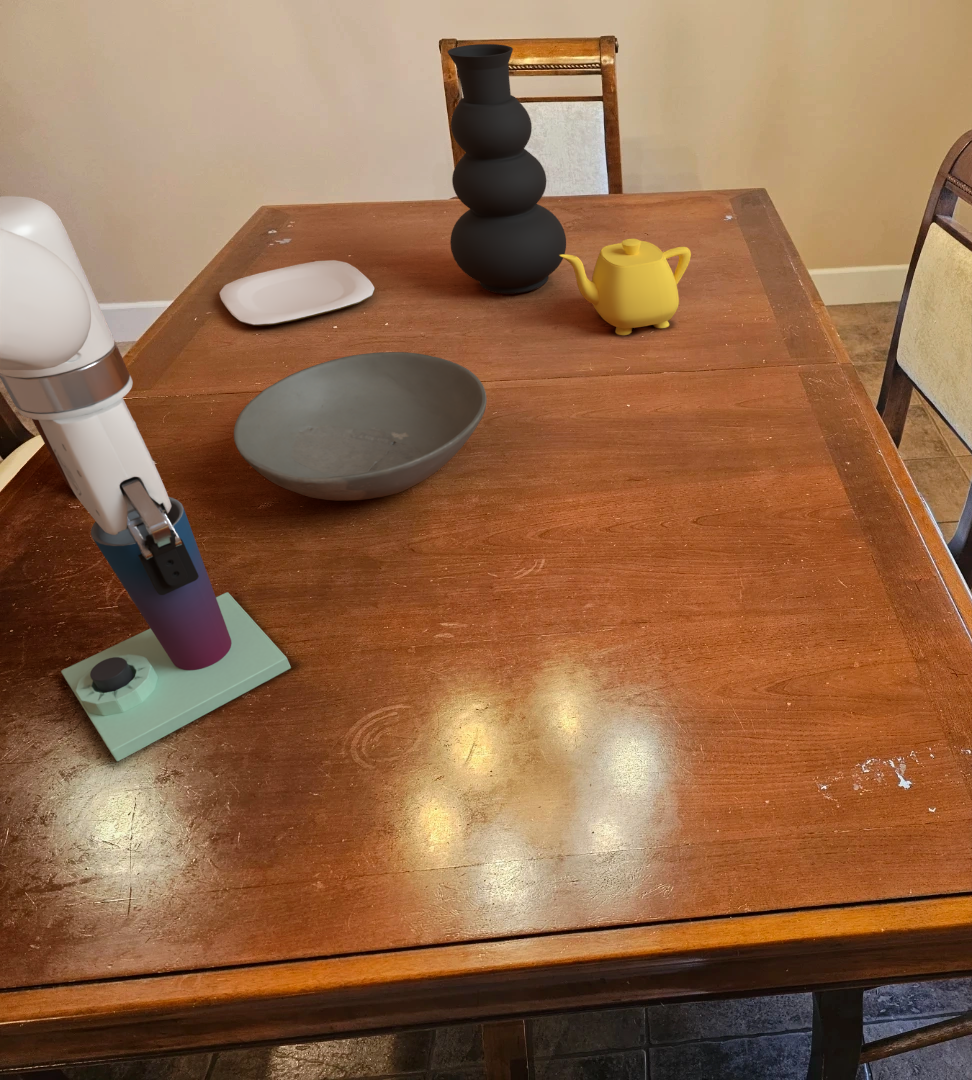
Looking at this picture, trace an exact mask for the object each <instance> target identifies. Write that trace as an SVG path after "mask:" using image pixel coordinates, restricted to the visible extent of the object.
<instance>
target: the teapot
mask: <svg viewBox="0 0 972 1080" xmlns="http://www.w3.org/2000/svg"><path fill="white" fill-rule="evenodd" d="M691 255H692V252H691V250H690V248H689V247H687V246H678V247H673V248H670V249H667V250H665V251H662V250H661V249H660V247H658V246H657V245H655V244H654V243H652V242H649V241H645V240H640V239H637V238H627V239H623V240H622V241H621V242H619V243H613V244H608V245H605V246H603V247H602V248H601V249H600V251H599V254H598V256H597V259H596V261H595V265H594V269H593V271H592V277H591V280H590V279H589V278H588V276H587V274H586V270H585V266H584V264H583V262H582V260H581V259H580V258H579V257H578V256H576V255H574V254H573V255H572V254H567V253H565V254H561V255H559V256H560V257H562V258H563V260H565V261H567V262H568V263H569V264H570V265H571V267H572V269H573V272H574V275H575V280H576V285H577V288H578V291H579V293H580V294H581V296H582V298H584V299H585V300H586V301H587V302H588V303H590V304H592V306H593V308H594V309H595V311H596V312H597V313H598V315H599V316H600V318H601V319H603V320H604V321H605V322H606V323H608V324H609V325H611V326H613V327H616V328H615V331H614V332H615V334H616V335H619V336H627V335H630V334H631V333H632V332H633V331H632V330H633V328H634V329H635V328H641V327H648V326H653V327H654V328H656V329H666V328H668V327H669V326H670V322H669V321H670V320H671V319H672V318H673V317H674V316H675V314H676V312H677V310H678V308H679V304H680V298H679V297H680V296H679V289H678V284H679V283H680V281H681V279H682V277H683V276H684V275H685V272H686V270H687V268H688V266H689V265H690V261H691ZM674 257H678V262H677V265H676V268H675V271H674V272H673V270H672V268H671V266H670V264H669V262H668V260H667V259H670V258H674Z"/></svg>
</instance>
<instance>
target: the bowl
mask: <svg viewBox="0 0 972 1080" xmlns="http://www.w3.org/2000/svg"><path fill="white" fill-rule="evenodd" d="M487 401H488V400H487V392H486V389H485V386H484V384H483V382H482V381H481V380H480V378H479V377H478V376H477V375H476V374H475V373H474V372H472V371H471V370H469V369H468V368H467V367H465V366H464V365H463V366H462V365H461V364H458V363H457V362H453V361H451V360H448V359H445V358H441V357H437V356H432V355H428V354H423V353H416V352H407V351H382V352H381V351H380V352H379V351H378V352H369V353H360V354H359V353H358V354H352V355H348V356H343V357H338V358H335V359H331V360H327V361H324V362H320V363H318V364H314V365H312V366H309V367H306V368H303V369H301V370H298V371H296V372H294V373H292V374H289V375H287V376H286V377H284V378H282V379H280V380H278V381H276V382H274V383H273V384H271V385H270V386H268V387H266V388H265V389H263V390H262V391H261V392H259V393H258V394H257V395H256V396H254V397H253V398H252V399H251V400H250V401H249V402H248V403H247V404H246V405H245V406H244V408H243V409H242V410H240V413H239V414H238V416H237V419H236V420H235V424H234V427H233V440H234V441H233V442H234V444H235V447H236V449H237V451H238V452H239V454H240V456H241V457H242V458H243V459H244V460H245V462H246V463H247V464H248V465H249V466H251V467H252V468H253V469H254V470H255V471H256V473H258V474H260V475H261V476H263V477H264V478H265V479H267V480H268V481H270V482H271V483H273V484H274V485H277V486H279V487H281V488H283V489H285V490H288V491H290V492H293V493H296V494H298V495H303V496H306V497H308V498H312V499H318V500H319V499H320V500H326V501H335V502H338V501H341V502H342V501H343V502H344V501H363V500H370V499H379V498H384V497H388V496H391V495H392V496H393V495H396V494H399V493H401V492H404V491H407V490H409V489H410V488H412V487H414V486H416V485H418V484H420V483H422V482H424V481H425V480H427V479H428V478H430V477H431V476H433V475H434V474H436V473H437V472H438V471H439V470H441V469H442V468H443V467H445V465H446V464H448V463H449V461H450V460H451V459H452V458H454V457H455V456H456V454H458V453H459V452H460V450H461V449H462V448H463V447H464V445H465V444H466V443H467V442H468V440H469V439H470V437H471V436H472V435H473V433H474V432H475V430H476V428H477V427H478V426H479V424H480V422H482V421H481V420H482V419H483V416H484V414H485V412H486V408H487Z"/></svg>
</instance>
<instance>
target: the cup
mask: <svg viewBox="0 0 972 1080" xmlns="http://www.w3.org/2000/svg"><path fill="white" fill-rule="evenodd" d="M168 497H169V500H170V503H171V509H170V511H169V512H168V514H166V513H165V514H166V515H167V517H168V519H169V520H170V522H171V524H172V526H173V527H174V529H175V531H176V532H177V534H178V536H179V538H181V539H182V540H183V543H184V545H185V547H186V549H187V551H188V553H189V556H190V558H191V560H192V562H193V564H194V566H195V569H196V571H197V573H198V576H199V577H198V579H197V580H195V581H193V582H191V583H189V584H187V585H185V586H182V587H180V588H178V589H176V590H174V591H171V592H169V593H167V594H165V595H159V594H158V593H157V591H156V590H155V588H154V586H153V584H152V582H151V580H150V578H149V576H148V574H147V572H146V570H145V568H144V566H143V564H142V562H141V560H140V558H139V556H138V555H140V554H142V553H141V551H140V550H139V548H138V546H137V545H136V543H135V541H134V540H133V538H132V536H131V535H130V533H129V531H128V530H127V529H126V530H123V531H120V532H118V534H117V535H112V534H109V533H106V532H105V531H104V530H103V529H102V528H101V527H100V526H99V525H98V523H97V522H96V521H95V522H94V523H93V524H92V527H91V528H90V536H91V538H92V540H93V541H94V543H95V544H96V546H97V548H98V549H99V551H100V552H101V553H102V555H103V557H104V558H105V560H106V562H107V563H108V564H109V566H110V568H111V569H112V571H113V572H114V574H115V575H116V578H118V580H119V582H120V584H121V585H122V587H123V588H124V589H125V592H127V594H128V596H129V597H130V599H131V601H132V602H133V604H134V605H135V606H136V608H137V610H138V611H139V613H140V614H141V616H142V618H143V619H144V621H145V623H147V625H148V627H149V629H150V628H151V630H152V631H153V633H154V634H155V636H156V638H157V639H158V641H159V642H160V644H161V645H162V647H163V648H164V650H165V652H166V653H167V655H168V656H169V658H170V659H171V661H172V662H173V664H174V665H175V666H176V667H178V668H180V669H183V670H197V669H202V668H205V667H208V666H210V665H213V664H214V663H216V662H218V661H219V660H221V659H222V658H223V657H224V656H225V655H226V654H227V653H228V652H229V650H230V648H231V644H232V643H231V638H230V635H229V632H228V630H227V627H226V624H225V621H224V619H223V616H222V613H221V610H220V607H219V605H218V602H217V599H216V597H217V596H216V594H215V590H214V588H213V585H212V582H211V580H210V577H209V574H208V571H207V569H206V567H205V563H204V560H203V558H202V555H201V552H200V550H199V546H198V544H197V540H196V538H195V535H194V533H193V529H192V527H191V525H190V522H189V519H188V516H187V513H186V510H185V507H184V505H183V503H182V502H180V500H178V499H176V498H174V497H171V496H168ZM137 517H139V516H138V514H137V513H136V511H133V512H130V513H128V518H129V519H130V520H132V519H135V518H137ZM137 529H138V530H139V532H140V534H141V535H142V537H143V539H144V540H145V541H146V537H145V536H147V535H149V533H148V532H147V529H146V527H145V525H142V526H139V527H137Z"/></svg>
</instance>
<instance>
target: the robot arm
mask: <svg viewBox="0 0 972 1080" xmlns="http://www.w3.org/2000/svg"><path fill="white" fill-rule="evenodd" d="M0 380H1V382H2V384H3V386H4V388H5V390H6V392H7V393H8V396H9V397H10V399H11V401H12V403H13V405H14V406H15V408H16V411H17V412H18V413H19V415H21V416H23V417H24V418H27V419H31V420H32V419H35V420H39V422H40V424H41V427H42V429H43V431H44V433H45V435H46V437H47V439H48V441H49V443H50V445H51V447H52V449H53V451H54V453H55V455H56V457H57V459H58V461H59V463H60V465H61V467H62V469H63V472H64V474H65V476H66V478H67V480H68V482H69V484H70V487H71V488H72V489H71V488H70V489H71V490H72V492H73V494H74V495H75V497H76V498H77V499H78V501H79V502H80V504H81V505H82V506H83V507H84V509H85V510H86V511H87V512H88V514H89V515H90V516H91V518H92V519H93V520H94V521H95V522H97V523H98V525H99V526H100V527H101V528H102V529H103V530H104V531H105V532H106V533H109V534H112V535H117V534H118V532H120V531H123V530H126V529H127V530H128V531H129V533H130V535H131V536H132V538H133V540H134V541H135V543H136V545H137V546H138V548H139V550H140V551H141V553H142V554H140V555H138V556H139V558H140V560H141V562H142V564H143V566H144V568H145V570H146V572H147V574H148V576H149V578H150V580H151V582H152V584H153V586H154V588H155V590H156V591H157V593H158V594H159V595H165V594H167V593H169V592H171V591H174V590H176V589H178V588H180V587H182V586H185V585H187V584H189V583H191V582H193V581H195V580H197V579H198V577H199V576H198V573H197V571H196V569H195V566H194V564H193V562H192V560H191V558H190V556H189V553H188V551H187V549H186V547H185V545H184V543H183V540H182V539H181V538H179V536H178V534H177V532H176V531H175V529H174V527H173V526H172V524H171V522H170V520H169V519H168V517H167V515H166V514H168V512H169V511H170V509H171V503H170V500H169V497H170V496H169V495H168V492H167V489H166V488H165V487H166V486H165V484H164V483H163V480H162V478H161V475H160V473H159V471H158V468H157V467H156V466H157V465H156V464H155V462H154V460H153V457H152V456H151V454H150V451H149V448H148V447H147V444H146V443H145V440H144V439H143V437H142V434H141V432H140V430H139V428H138V426H137V422H136V421H135V419H134V418H133V416H132V413H131V411H130V409H129V407H128V405H127V404H126V402H125V399H124V397H126V396H127V395H128V394H129V392H130V391H131V390H132V388H133V385H134V384H133V383H134V382H133V378H132V376H131V373H130V372H129V370H128V368H127V365H126V362H125V361H124V358H123V355H122V353H121V351H120V349H119V346H118V345H117V343H116V340H115V338H114V336H113V334H112V331H111V329H110V327H109V325H108V322H107V320H106V318H105V315H104V313H103V311H102V309H101V306H100V305H99V302H98V300H97V297H96V295H95V293H94V290H93V288H92V286H91V284H90V281H89V279H88V277H87V275H86V272H85V269H84V267H83V266H82V263H81V261H80V259H79V255H78V254H77V252H76V250H75V248H74V245H73V242H72V241H71V239H70V236H69V234H68V232H67V229H66V227H65V226H64V224H63V222H62V219H61V218H60V216H59V215H58V213H57V212H56V211H55V209H53V208H52V207H51V206H50V205H49V204H47V203H45V202H43V201H42V200H40V199H37V198H34V197H29V196H19V195H3V196H2V195H1V196H0ZM133 511H136V513H137V514H138V516H139V517H137V518H135V519H132V520H130V519H129V518H128V513H130V512H133ZM165 513H166V514H165ZM142 525H145V527H146V529H147V532H148V533H149V535H147V536H145V537H146V541H145V540H144V539H143V537H142V535H141V534H140V532H139V530H138V529H137V527H139V526H142Z"/></svg>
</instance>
